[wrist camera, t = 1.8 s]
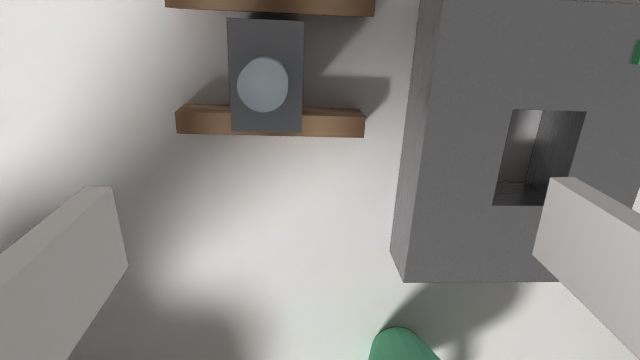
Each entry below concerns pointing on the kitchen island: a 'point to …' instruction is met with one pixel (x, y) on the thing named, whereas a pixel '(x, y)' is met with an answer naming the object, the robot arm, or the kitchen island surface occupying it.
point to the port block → (493, 123)
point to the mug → (400, 346)
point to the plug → (265, 75)
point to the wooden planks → (314, 120)
